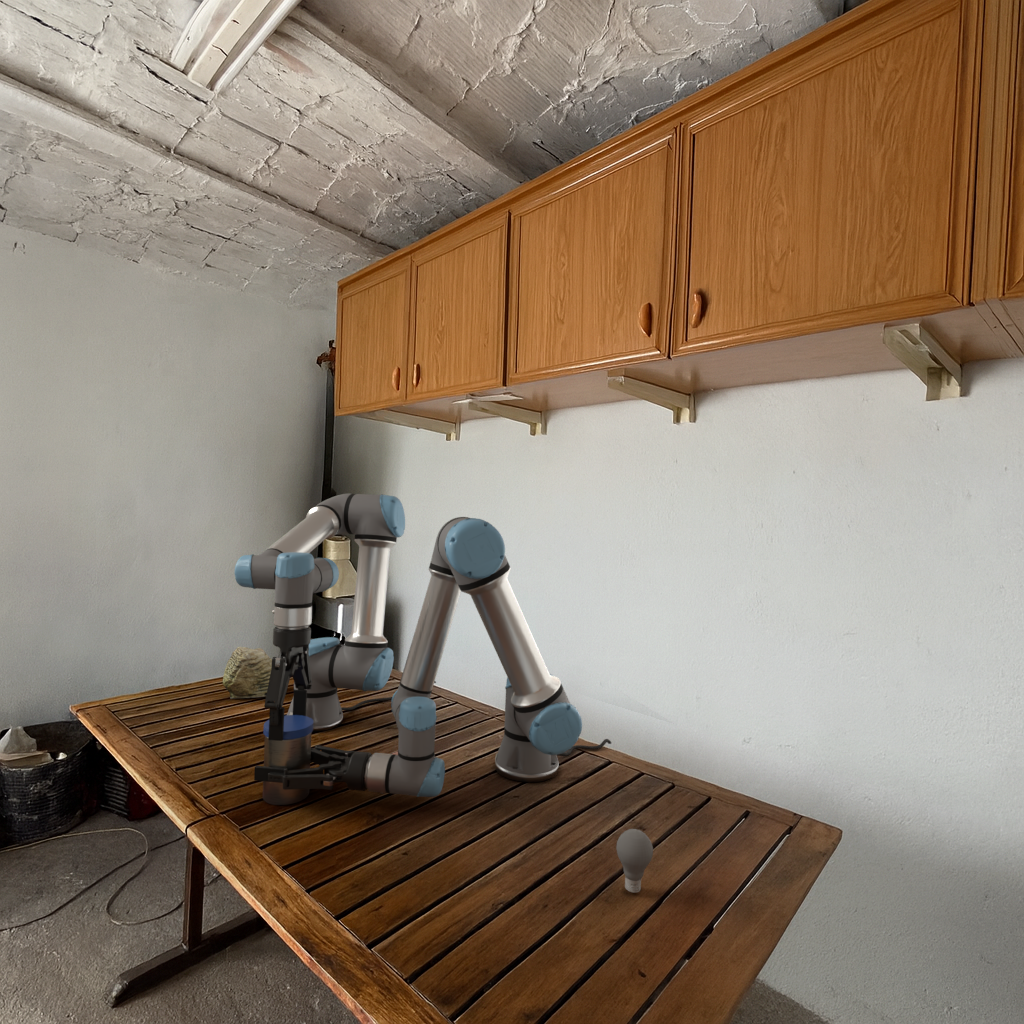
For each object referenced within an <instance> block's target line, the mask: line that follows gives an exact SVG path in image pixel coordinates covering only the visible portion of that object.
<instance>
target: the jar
mask: <svg viewBox="0 0 1024 1024" xmlns="http://www.w3.org/2000/svg"><path fill="white" fill-rule="evenodd" d="M312 734H313V732H311V733H310V734H308V735H306V736H304V737H301V738H296V739H289V740H282V741H276V740H268V739H269V738H268V737H266V736H265V735H264V747H263V749H264V750H263V751H264V753H263V766H266V767H277V768H286V767H287V771H290V770H299V769H308V768H311V764H310V759H311V748H312ZM309 795H310V789H288V790H284V789H283V783H278V782H267V781H262V800H263V802H265V803H267V804H270V805H273V806H287V805H293V804H296V803H299V802H301V801H303V800H305V799H306V798H308V796H309Z"/></svg>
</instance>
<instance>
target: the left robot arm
mask: <svg viewBox="0 0 1024 1024" xmlns="http://www.w3.org/2000/svg"><path fill="white" fill-rule="evenodd" d="M405 529H406V515H405V509H404V506H403V504H402V501H401V500H400V498H398V497H397V496H395V495H389V494H375V493H374V494H371V493H365V494H364V493H342V494H338V495H335V496H332V497H330V498H327V499H325V500H322V501H321V502H319V503H317V505H315V506H313V507H312V508H310V510H308V512H307V513H306V516H305V518H304V519H302V520H301V521H300V522H299V523H297V524H296V525H295V526H293V528H291V529H289V531H287V532H286V533H284V535H282V536H281V537H279V538H278V539H277V540H276V541H275V542H273V543H272V544H271V545H269V546H268V547H267V548H265V549H264V550H263V551H262V552H261V553H259V554H253V553H252V554H243V555H242V556H240V557H239V558H238V559H237V561H236V563H235V565H234V577H235V578H234V580H235V582H236V583H237V585H238V586H240V587H242V588H249V589H253V590H256V589H257V590H258V589H259V590H273V591H274V608H273V610H272V614H273V625H274V626H275V627H274V628H273V630H272V631H273V632H272V645H273V646H274V647H277V648H279V653H278V656H273V657H272V658H271V659H272V667H271V674H270V679H269V684H268V689H267V695H266V696H265V700H264V706H263V707H264V708H265V709H269V718H268V720H269V739H268V740H276V741H282V740H283V731H284V716H285V709H286V708H285V706H284V702H285V698H286V695H287V691H288V687H289V685H290V680H291V678H292V679H293V695H292V696H293V697H292V699H291V702H290V704H289V708H288V711H287V713H286V715H302V716H307V717H310V718H311V719H313V731H312V733H316V732H325V731H329V730H332V729H335V728H337V727H339V726H340V725H342V723H343V722H344V714H343V711H344V712H345V711H353V710H355V709H356V708H359V707H360V706H362V705H365V704H369V703H373V702H374V703H375V702H386V701H387V702H388V701H392V697H393V696H388V697H379V698H370V699H365V700H362V701H359V702H358V703H356V704H355V705H352V706H350V707H349V706H348V707H347V706H346V707H345V706H344V707H343V706H341V702H340V699H339V695H338V689H342V690H343V689H345V690H357V691H363V692H368V691H369V692H377V691H378V692H379V691H381V690H382V689H383V688H384V687H385V686H386V685H387V683H388V681H389V679H390V676H391V675H392V670H393V668H394V667H393V666H394V661H395V657H394V650H393V649H392V648H390V647H388V640H387V637H385V636H384V626H385V613H386V603H387V592H388V582H389V580H388V579H389V568H390V559H391V558H390V556H391V550H392V548H393V547H394V546H396V545H397V538H401V537H403V536H404V534H405ZM336 535H354V543H356V544H357V545H358V547H359V548H358V556H357V557H358V559H357V569H356V580H355V590H354V598H353V599H354V600H353V611H352V621H351V630H350V631H351V632H350V634H349V635H348V636H347V637H346V638H344V644H341V641H340V639H339V638H338V637H334V636H331V637H330V636H325V637H318V638H311V637H312V628H311V627H310V626H311V625H312V623H313V622H312V621H313V620H312V619H313V594H317V593H321V592H326V591H327V590H330V589H332V588H333V587H334V586H335V585H336V584H337V582H338V580H339V577H340V570H339V567H338V565H337V564H336V562H335V561H333V560H332V559H331V558H327V557H316V558H315V557H314V556H313V554H312V553H311V552H312V551H313V550H315V549H316V548H317V547H318V546H319V545H320V544H322V543H323V542H324V541H325V540H328V539H331V538H334V537H335V536H336ZM434 684H437V681H436V680H435V682H434ZM283 706H284V707H283Z"/></svg>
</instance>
